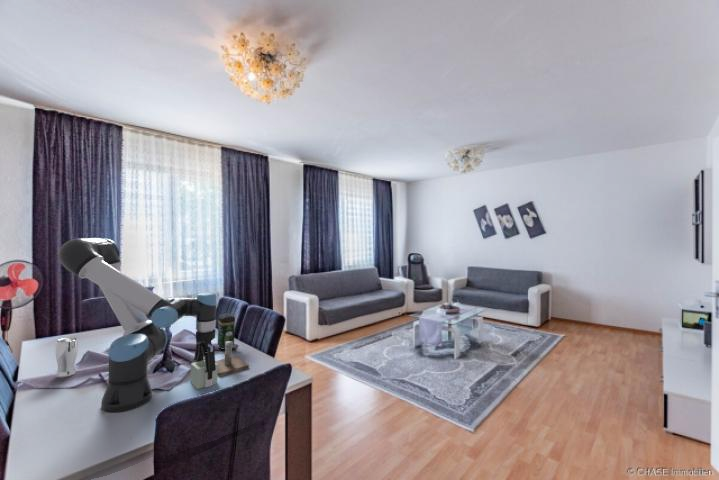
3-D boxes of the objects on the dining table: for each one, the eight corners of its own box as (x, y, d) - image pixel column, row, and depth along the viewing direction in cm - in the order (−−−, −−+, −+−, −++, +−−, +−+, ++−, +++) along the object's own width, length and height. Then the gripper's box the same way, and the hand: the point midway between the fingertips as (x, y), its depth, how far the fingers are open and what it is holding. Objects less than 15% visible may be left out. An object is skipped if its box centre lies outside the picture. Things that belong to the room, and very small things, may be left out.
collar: (197, 389, 129) (197, 369, 128) (190, 382, 134) (190, 363, 134) (217, 382, 134) (217, 364, 134) (209, 376, 140) (210, 358, 140)
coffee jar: (215, 346, 176) (216, 313, 175) (230, 343, 181) (231, 311, 180) (220, 351, 168) (222, 317, 168) (235, 348, 173) (237, 315, 173)
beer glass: (77, 374, 135) (79, 340, 135) (55, 379, 130) (56, 343, 130) (76, 369, 140) (77, 336, 140) (54, 374, 135) (55, 339, 135)
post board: (219, 376, 140) (220, 349, 140) (206, 366, 150) (207, 341, 149) (248, 368, 150) (249, 343, 150) (235, 358, 160) (236, 335, 160)
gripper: (225, 334, 129) (223, 388, 129) (204, 322, 144) (203, 370, 144) (206, 338, 124) (204, 394, 124) (187, 325, 139) (185, 375, 139)
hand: (203, 381), depth 134 cm, fingers open, 9 cm apart
